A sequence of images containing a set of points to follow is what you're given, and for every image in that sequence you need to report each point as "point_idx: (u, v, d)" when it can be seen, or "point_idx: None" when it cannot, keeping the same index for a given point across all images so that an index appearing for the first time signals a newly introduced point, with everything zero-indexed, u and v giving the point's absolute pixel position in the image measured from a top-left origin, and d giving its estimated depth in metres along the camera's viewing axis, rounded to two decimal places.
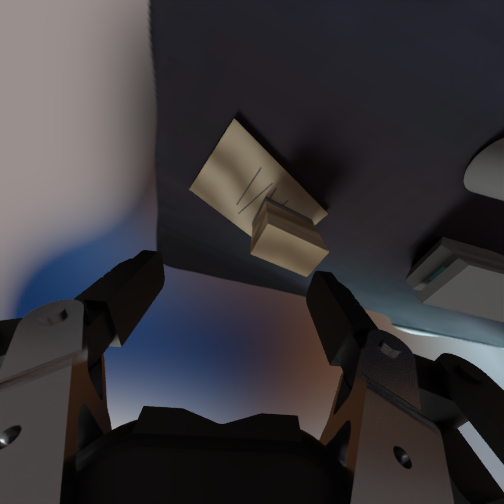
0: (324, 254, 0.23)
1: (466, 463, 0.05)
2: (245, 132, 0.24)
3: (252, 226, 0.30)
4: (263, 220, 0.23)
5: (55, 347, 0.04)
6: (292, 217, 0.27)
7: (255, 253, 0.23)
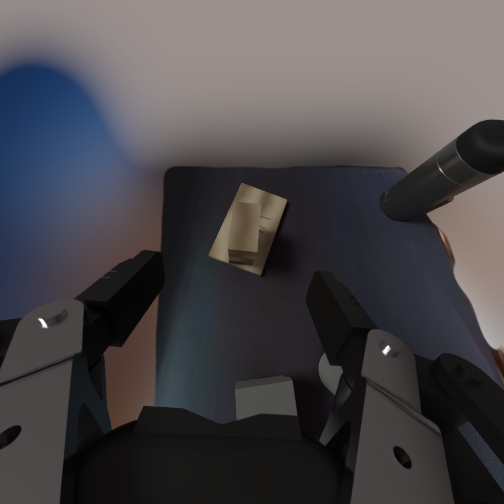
0: (253, 250, 0.29)
1: (466, 463, 0.05)
2: (284, 206, 0.43)
3: None
4: None
5: (55, 347, 0.04)
6: None
7: (235, 204, 0.31)
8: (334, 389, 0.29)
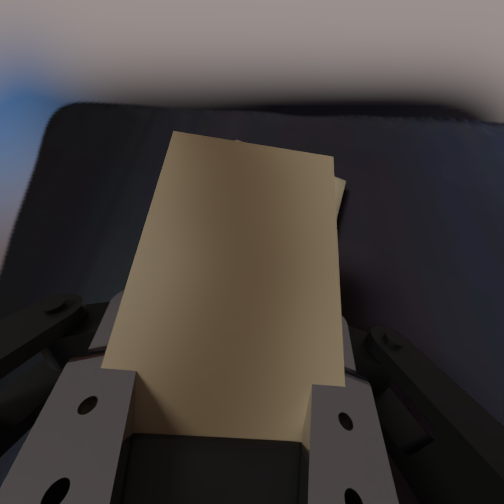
0: None
1: (397, 416, 0.05)
2: (340, 196, 0.17)
3: None
4: None
5: None
6: None
7: (181, 148, 0.05)
8: None
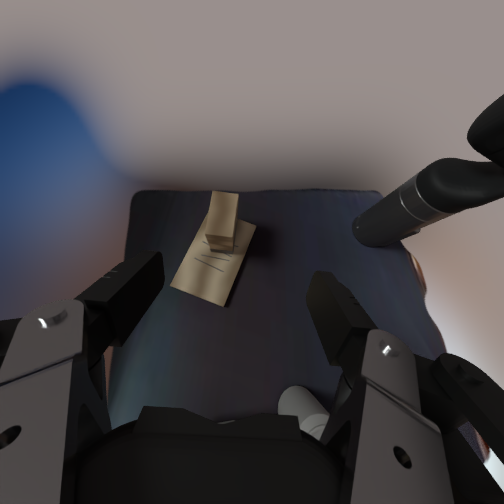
0: (229, 235, 0.31)
1: (466, 463, 0.05)
2: (252, 232, 0.42)
3: None
4: None
5: (55, 347, 0.04)
6: (235, 229, 0.38)
7: (214, 193, 0.33)
8: None
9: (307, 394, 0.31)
